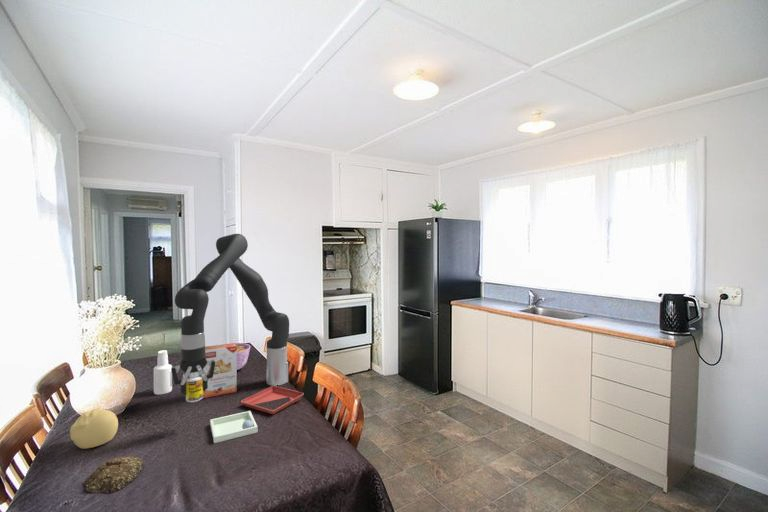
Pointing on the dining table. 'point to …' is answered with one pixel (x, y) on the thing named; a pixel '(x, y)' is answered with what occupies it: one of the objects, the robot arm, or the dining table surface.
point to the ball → (247, 424)
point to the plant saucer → (272, 398)
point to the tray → (232, 426)
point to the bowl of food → (242, 354)
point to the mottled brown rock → (114, 474)
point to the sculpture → (94, 428)
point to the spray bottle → (162, 374)
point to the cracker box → (221, 369)
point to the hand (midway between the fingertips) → (194, 392)
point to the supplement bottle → (194, 387)
